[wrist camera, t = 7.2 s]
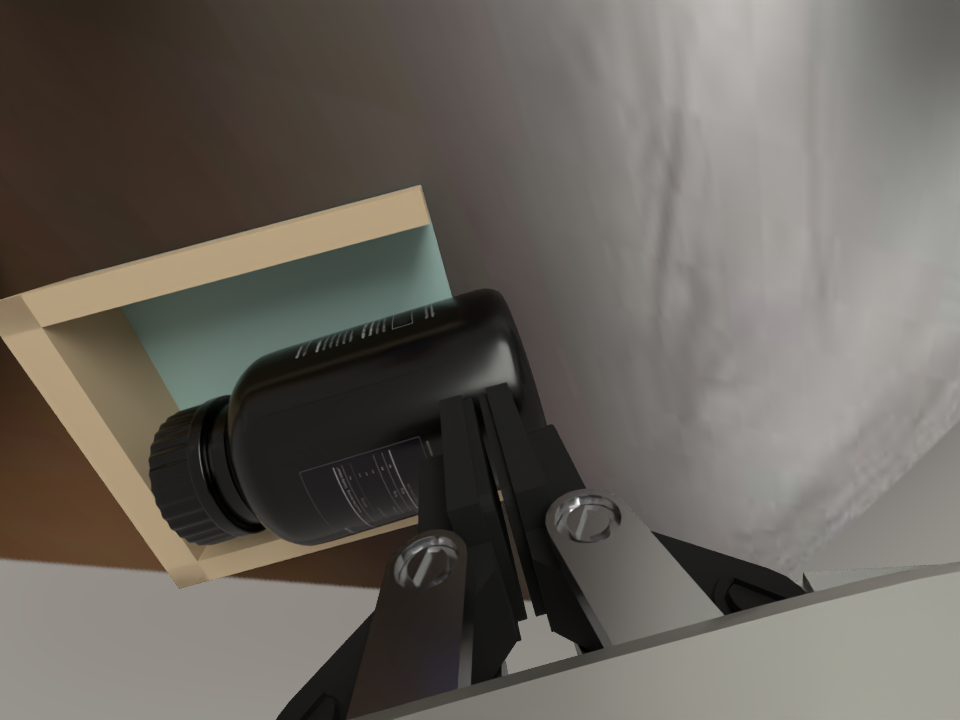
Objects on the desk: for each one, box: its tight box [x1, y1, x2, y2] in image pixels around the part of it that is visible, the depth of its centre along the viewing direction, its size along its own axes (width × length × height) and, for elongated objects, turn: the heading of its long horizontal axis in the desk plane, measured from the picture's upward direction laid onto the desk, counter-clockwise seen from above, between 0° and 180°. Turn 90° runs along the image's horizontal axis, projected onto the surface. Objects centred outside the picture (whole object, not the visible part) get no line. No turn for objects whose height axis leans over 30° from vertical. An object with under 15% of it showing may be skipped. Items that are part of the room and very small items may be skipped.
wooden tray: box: [0, 185, 503, 589], centre depth 17 cm, size 13×12×4 cm
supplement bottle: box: [148, 289, 547, 546], centre depth 16 cm, size 7×7×12 cm
